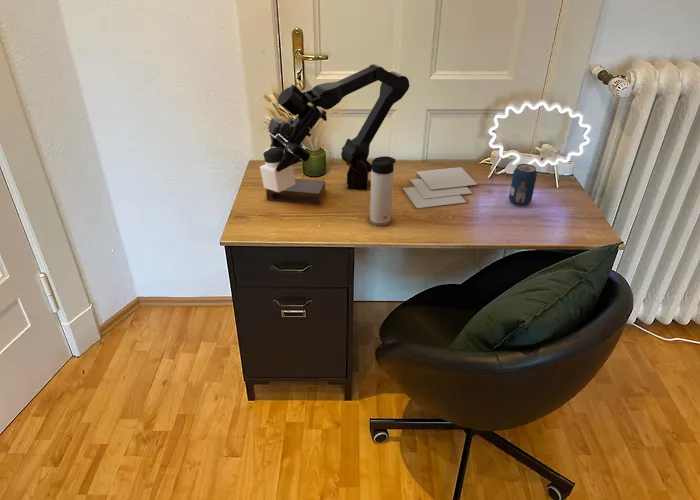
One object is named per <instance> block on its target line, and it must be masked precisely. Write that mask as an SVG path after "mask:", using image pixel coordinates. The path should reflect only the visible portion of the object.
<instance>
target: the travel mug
mask: <svg viewBox="0 0 700 500" xmlns="http://www.w3.org/2000/svg"><path fill="white" fill-rule="evenodd" d="M371 164H372V169H371V172H370V200H369V201H370V203H369V222H370V223H371V224H372V225H373V226H374V225H375V226H379V227H384V226H388V225H389V224H390V223H391V221H392V206H393V190H394V189H393V187H394V173H395V172H394V171H395V169H394V168H395V164H396V158H393V157H392V156H385V155H384V156H378V157H375V158H373V160H372V161H371Z"/></svg>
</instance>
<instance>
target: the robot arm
mask: <svg viewBox="0 0 700 500" xmlns="http://www.w3.org/2000/svg"><path fill="white" fill-rule="evenodd" d="M377 81H379V82H380V87H379V96H378V98H377V100H376V102H375V103H374V105H373V107H372V108H371V111H370V112H369V114H368V116H367V117H366V119H365V121H364V122H363V125H362V126H361V128H360V130H359V132H358V133H357V135H356V136H355V137H354V138H353V139H350V138H347V139H346V141H345V143H344V145H343V146H342V148H341V154H340V156H341V159H342V161H343V162H344V163H345V164H346V166H348V167H349V168H348V170H347V172H346V185H347V189H349V190H361V191H362V190H363V191H367V190H368V187H369V184H370V179H369V178H370V177H369V173H371V172H372V171H371V169H372V163H370V162H369V161H368V157H369V155H370V146H371V143H372V142H373V140H374V138H375V136H376V134H377V133H378V131H379V130H380V128H381V126H382V124H383V123H384V121H385V119H386V117H387V115H388V113H389V112H390V111H391V108H392V107H393V106H394V104H396V103H397V102H399V101H401V99H402V98H403V97H404V96H405V94H406V93H407V92H408V91H409V88H410V87H411V86H410V80H409V78H408V77H407V76H405V75H404V74H401V73H399V72H396V71H394V70H393V71H389V70H387V69H385V68H384V67H382V66H381V65H378V64H375V63H373V64H370V65H368V67H366V68H364V69H361V70H359V71H357V72H355V73H353V74H351V75H350V74H349V75H348V76H346V77H344V78H342V79H340V80H337V81H331V82H323V83H320V84H317V85H315V86H313V88H312V89H310V90H306V91H301V90H300V89H299V87H297V86H296V85H295V84H291V85H290V87H287V88H285V89H283V90H282V91H281V92H280V93H279V96H278V97H277V98H278V99H277V103H278V105H280V106H281V107H282V108H283V109H284V110H286V111H287V112H288V113H289V114H291V115H292V116H295V118H294V119H292V118H290V119H288V121H286V120H285V121H284V120H283V119H278V118H275V117H271V118H270V121H269V124H268V126H267V129H268V131H267V132H269V133H270V134H269V137H270V146H269V148H271V147H280V148H282V149H283V150H284V156H283V158H282V159H281V161H280V162H279V164H278V166H277V168H276V171H277V172H279V171H281V170H283V169H285V168H287V167H289V166H291V165H293V166H294V165H295V164H298V163H302V162H305V163H308V161H309V160H310V159H311V154H310V152H309V151H308V150H306V149H305V148H304V147H303V146H304V144H302V143H303V141H304V140H305V139H306V138H307V137H308V138H310V137H311V136H312V133H310V132H311V130H313V128H314V127H315V126H316V124H317V123H318V121H319V120H320V119H321V120H323V121H324V122H327V121H328V118H327V117H328V116H327V110H332V108H334V107H335V106H337V105H338V104H340V103H341V101H342V100H343V98H345V97H346V96H348V95H350V94H352V93H354V92H356V91H358V90H361V89H363V88H365V87H367V86H369V85H371V84H373V83H376V82H377ZM310 104H311V105H310ZM319 108H321V109H319Z"/></svg>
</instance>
